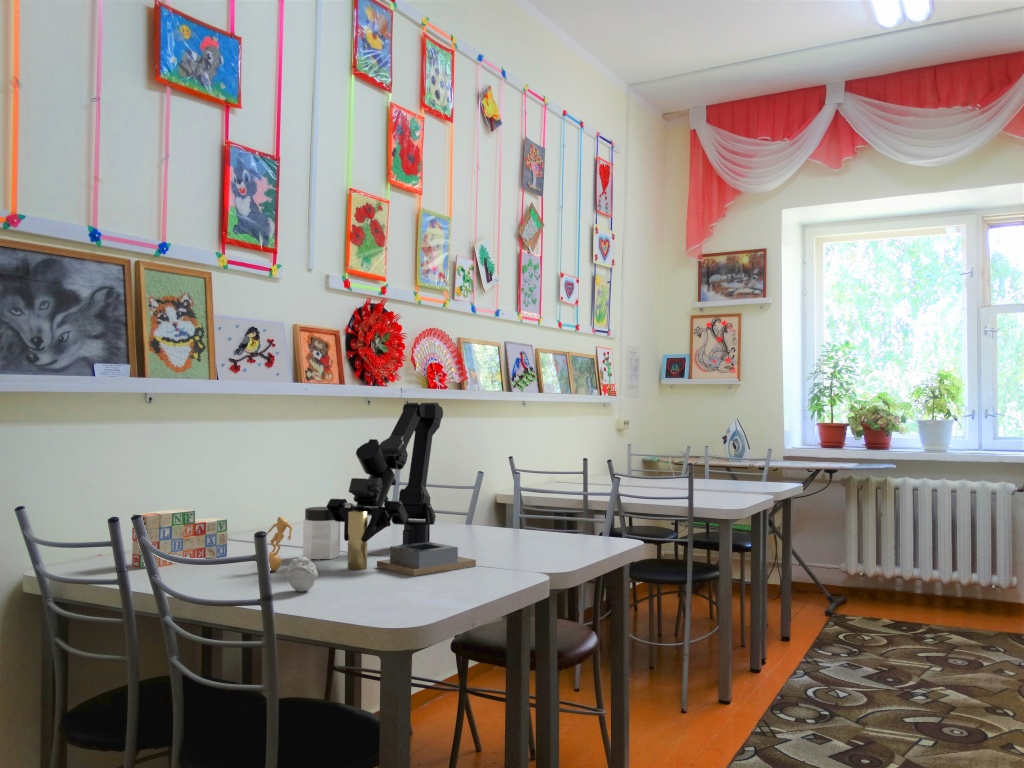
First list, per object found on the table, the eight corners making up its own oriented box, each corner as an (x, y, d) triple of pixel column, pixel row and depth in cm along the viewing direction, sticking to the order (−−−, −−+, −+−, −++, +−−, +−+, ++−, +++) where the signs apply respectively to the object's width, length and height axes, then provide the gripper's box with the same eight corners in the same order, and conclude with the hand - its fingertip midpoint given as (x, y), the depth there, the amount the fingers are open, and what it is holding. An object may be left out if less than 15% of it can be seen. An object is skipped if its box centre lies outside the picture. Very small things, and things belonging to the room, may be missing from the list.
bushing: (360, 566, 195) (360, 509, 195) (370, 568, 191) (371, 511, 192) (343, 568, 192) (344, 511, 192) (354, 571, 188) (355, 512, 189)
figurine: (252, 570, 188) (253, 517, 189) (274, 566, 193) (275, 514, 194) (277, 574, 184) (278, 519, 184) (298, 570, 189) (299, 517, 189)
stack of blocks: (212, 554, 211) (213, 505, 211) (227, 556, 207) (228, 506, 208) (131, 566, 194) (132, 512, 194) (146, 569, 190) (147, 515, 190)
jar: (345, 557, 206) (345, 508, 206) (314, 561, 201) (315, 511, 201) (328, 553, 213) (328, 505, 213) (298, 556, 208) (298, 507, 208)
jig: (438, 558, 205) (438, 538, 205) (475, 566, 195) (476, 544, 195) (376, 567, 193) (377, 545, 193) (413, 576, 183) (413, 553, 183)
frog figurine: (282, 595, 163) (282, 559, 163) (290, 588, 170) (291, 553, 170) (313, 595, 163) (314, 559, 163) (320, 588, 170) (321, 553, 170)
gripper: (330, 464, 199) (305, 516, 188) (402, 466, 193) (380, 519, 182) (346, 494, 206) (323, 546, 195) (416, 497, 201) (396, 550, 190)
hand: (354, 540), depth 190 cm, fingers closed on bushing, 4 cm apart
